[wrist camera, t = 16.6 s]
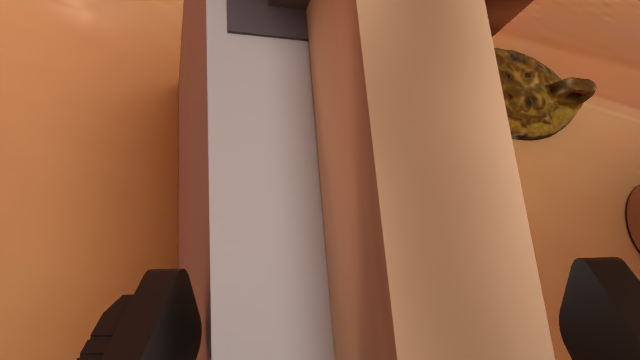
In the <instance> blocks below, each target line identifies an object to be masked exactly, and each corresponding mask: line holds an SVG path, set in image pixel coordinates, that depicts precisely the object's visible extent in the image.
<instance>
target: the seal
mask: <svg viewBox="0 0 640 360" xmlns="http://www.w3.org/2000/svg"><path fill="white" fill-rule="evenodd" d="M494 51H495V56H496V61H497V66H498V71H499V76H500V81H501V86H502V91H503V96H504V101H505V107H506V112H507V117H508V122H509V127H510V132H511V137H512V138H513V139H521V140H536V139H541V138H546V137H550V136H552V135H554V134H556V133H557V132H559V131H560V130H562V129H563V128H564V127H565V126H566V125H567V124H568V123H569V122H570V121H571V120H572V119H573V117H574V116H575V114H576V113H577V111H578V110H579V109H580V108H581V106H582V104H583V103H584V102H585V101H586V100H588V99H589V98H590V97H592V96H593V95H594V93H595V91H596V88H597V86H596V84H595V83H594V82H593V81H591V80H589V79H580V78H574V77H572V78H567V79H564V80H561V79H560V78H559V77H558V76H557V75H556V74H555V73H554V72H553V71H552V70H551V69H549V68H547V67H546V66H545V65H543V64H542V63H540V62H539V61H537V60H535V59H534V58H532V57H529V56H526V55H524V54H521V53H518V52H515V51H513V50H503V49H499V48H494Z"/></svg>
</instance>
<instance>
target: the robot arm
mask: <svg viewBox="0 0 640 360" xmlns="http://www.w3.org/2000/svg"><path fill="white" fill-rule="evenodd" d="M627 221H628V227H629V230H630V233H631V236H632V238H633V240H634V242H635V244H636V246H637V248H638V249H639V251H640V185H639V186H638V187H636V188H635V189H634V191H633V192H632V193H631V195H630V198H629V200H628V205H627ZM559 326H560V332H561V336H562V339H563V342H564V344H565V346H566V348H567V350H568V352H569V354H570V356H571V358H572V360H640V281H639V280H638V279H637V277H636V276H635V275H634V274H633V272H632V271H631V270H630V268H629V267H628V266H627V265H626V263H625V262H624V261H623V260H622V259H620V258H618V257H601V258H577V259H575V260H574V262H573V264H572V266H571V270H570V274H569V278H568V281H567V285H566V289H565V293H564V297H563V301H562V305H561V308H560V313H559ZM90 336H91V338H90V340H88V341H87V342H86V344H85V346H84V348H83V349H82V351H81V353H80V358H77V360H196V358H197V355H198V352H199V349H200V344H201V337H202V324H201V318H200V314H199V310H198V307H197V303H196V299H195V296H194V292H193V289H192V285H191V281H190V278H189V274H188V272H187V271H186V270H185V269H151V270H148V271H147V272H146V273H145V275H144V276H143V278H142V280H141V282H140V284H139V286H138V288H137V290H136V292H135V294H134V295H122V296H121V297H120V298H119V299H118V300H117V301H116V302H115V303H114V304H113V305H112V306H111V307H109V308H108V309H107V310H106V311H105V312H104V313H103V314H102V316H101V318H100V320H99V321H98V323H97V325H96V327H95V328H94V330H93V332H92V334H91V335H90Z"/></svg>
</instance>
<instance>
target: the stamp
mask: <svg viewBox="0 0 640 360" xmlns="http://www.w3.org/2000/svg"><path fill="white" fill-rule="evenodd" d="M268 5H270V6H278V7H286V8H294V9H302V10H306V14H307V27H308V39H309V51H310V63H311V75H312V87H313V99H314V111H315V124H316V136H317V148H318V160H319V172H320V184H321V196H322V209H323V221H324V233H325V245H326V257H327V269H328V281H329V293H330V306H331V318H332V330H333V342H334V354H335V360H555V356H554V351H553V346H552V341H551V336H550V331H549V326H548V320H547V315H546V310H545V305H544V300H543V295H542V290H541V285H540V280H539V275H538V269H537V264H536V259H535V254H534V249H533V244H532V239H531V234H530V229H529V224H528V219H527V213H526V208H525V203H524V198H523V193H522V188H521V183H520V178H519V173H518V168H517V163H516V157H515V152H514V147H513V142H512V137H511V132H510V127H509V122H508V117H507V112H506V107H505V101H504V96H503V91H502V86H501V81H500V76H499V71H498V66H497V61H496V56H495V51H494V45H493V40H492V35H491V30H490V25H489V20H488V15H487V10H486V5H485V0H268Z"/></svg>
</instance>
